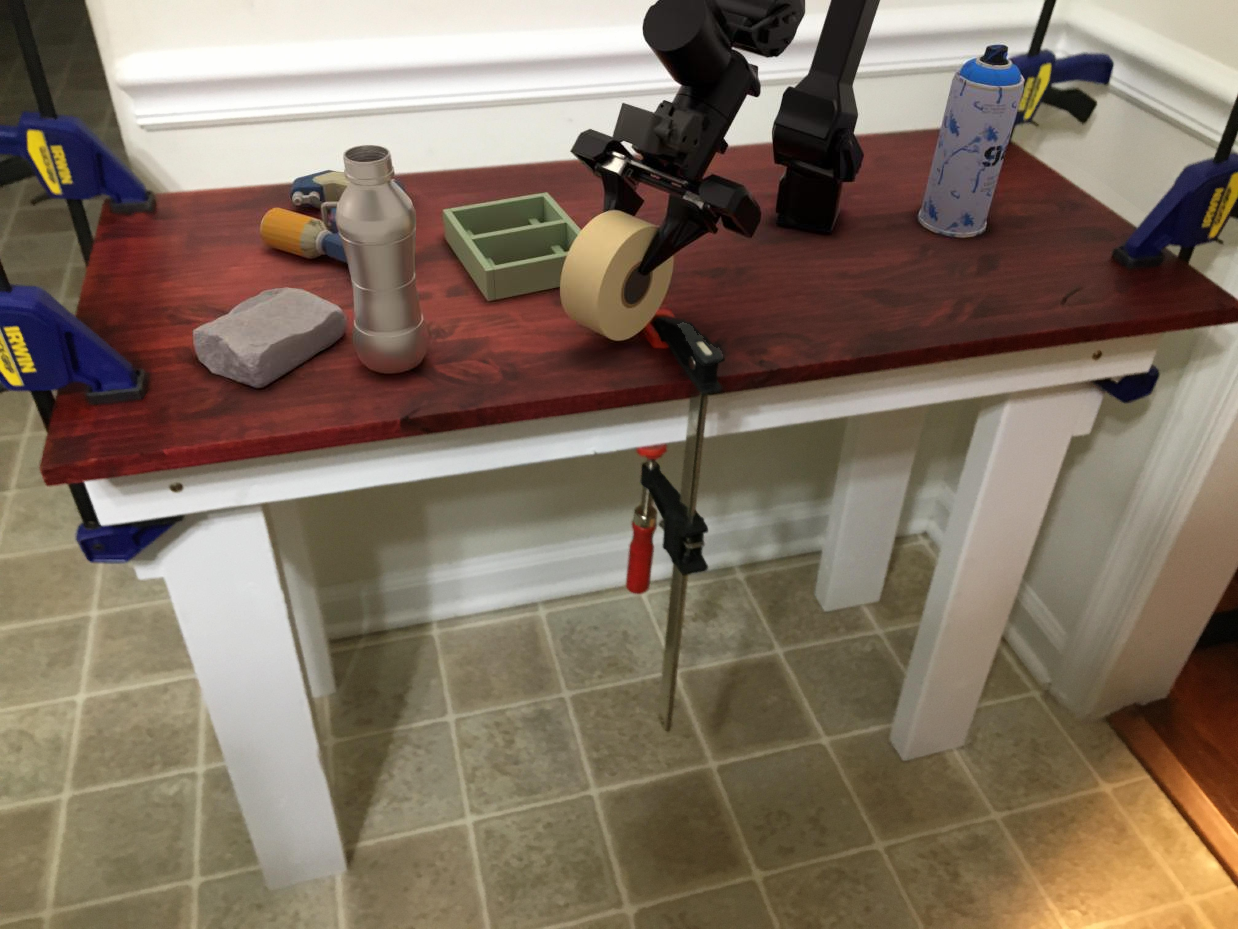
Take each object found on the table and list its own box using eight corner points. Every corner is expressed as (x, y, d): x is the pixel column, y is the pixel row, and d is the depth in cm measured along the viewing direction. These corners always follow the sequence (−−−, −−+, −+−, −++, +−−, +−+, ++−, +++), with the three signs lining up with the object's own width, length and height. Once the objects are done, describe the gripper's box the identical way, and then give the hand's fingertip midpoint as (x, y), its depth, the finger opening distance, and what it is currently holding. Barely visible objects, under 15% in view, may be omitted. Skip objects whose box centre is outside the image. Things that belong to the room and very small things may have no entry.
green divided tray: (547, 220, 116) (547, 191, 114) (598, 279, 106) (598, 249, 104) (444, 238, 112) (442, 209, 109) (487, 301, 102) (485, 270, 100)
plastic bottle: (361, 344, 95) (328, 137, 82) (433, 342, 96) (412, 137, 83) (353, 383, 90) (316, 170, 77) (429, 382, 91) (406, 170, 78)
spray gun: (255, 281, 103) (405, 277, 105) (247, 243, 100) (401, 240, 102) (279, 196, 119) (408, 195, 121) (273, 162, 116) (405, 160, 118)
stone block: (191, 377, 93) (262, 394, 88) (172, 329, 91) (244, 345, 86) (288, 324, 101) (359, 338, 96) (274, 279, 99) (345, 291, 94)
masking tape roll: (635, 294, 101) (637, 192, 94) (671, 310, 99) (677, 208, 92) (561, 341, 95) (557, 236, 87) (598, 360, 92) (597, 254, 85)
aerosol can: (960, 244, 115) (1009, 64, 102) (904, 218, 119) (944, 43, 106) (999, 224, 119) (1051, 49, 106) (943, 200, 123) (986, 30, 110)
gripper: (584, 38, 89) (501, 195, 90) (759, 93, 80) (665, 266, 81) (637, 103, 99) (561, 244, 100) (798, 158, 90) (714, 312, 91)
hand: (620, 264), depth 93 cm, fingers closed on masking tape roll, 5 cm apart
